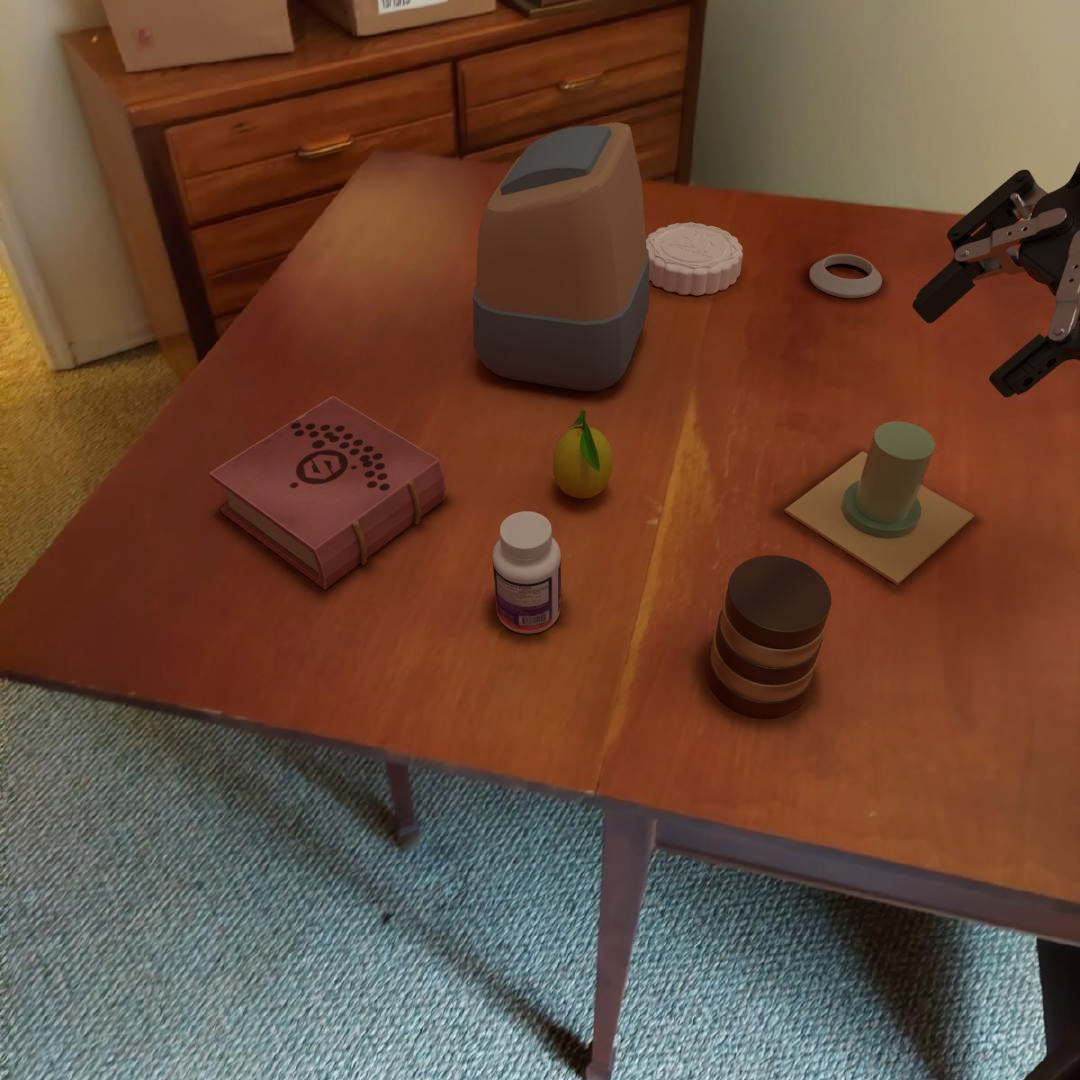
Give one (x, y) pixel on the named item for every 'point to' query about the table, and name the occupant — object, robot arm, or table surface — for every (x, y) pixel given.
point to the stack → (768, 636)
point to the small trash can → (564, 262)
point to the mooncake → (693, 258)
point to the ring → (842, 285)
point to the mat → (877, 553)
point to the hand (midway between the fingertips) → (956, 350)
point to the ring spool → (890, 481)
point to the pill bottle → (527, 573)
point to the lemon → (582, 460)
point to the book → (330, 489)
